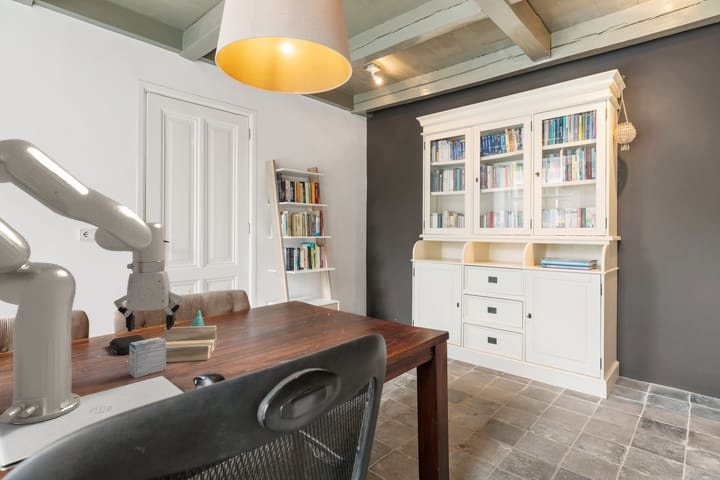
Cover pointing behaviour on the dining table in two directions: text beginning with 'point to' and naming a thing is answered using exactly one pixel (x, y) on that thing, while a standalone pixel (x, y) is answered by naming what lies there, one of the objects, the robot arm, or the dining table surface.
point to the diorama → (197, 320)
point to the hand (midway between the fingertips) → (150, 329)
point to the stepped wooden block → (189, 343)
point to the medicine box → (147, 357)
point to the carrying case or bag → (124, 343)
